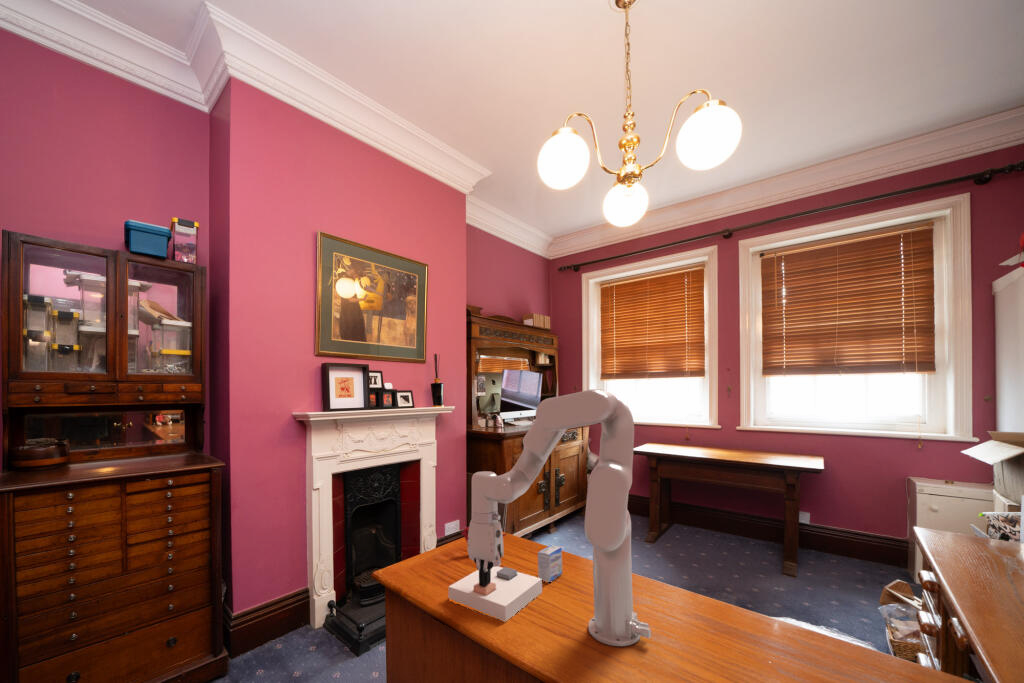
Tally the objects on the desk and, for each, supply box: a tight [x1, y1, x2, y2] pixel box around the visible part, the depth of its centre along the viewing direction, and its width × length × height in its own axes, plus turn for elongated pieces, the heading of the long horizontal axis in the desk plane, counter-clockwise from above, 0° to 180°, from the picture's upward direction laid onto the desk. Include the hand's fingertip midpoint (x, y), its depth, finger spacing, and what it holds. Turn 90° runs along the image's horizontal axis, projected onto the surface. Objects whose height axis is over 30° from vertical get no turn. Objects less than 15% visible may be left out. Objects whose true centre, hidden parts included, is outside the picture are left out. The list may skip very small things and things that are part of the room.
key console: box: [448, 565, 543, 623], centre depth 121 cm, size 20×19×4 cm
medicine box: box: [537, 544, 563, 583], centre depth 134 cm, size 8×4×9 cm, turn 143°
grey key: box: [497, 566, 518, 581], centre depth 126 cm, size 4×4×3 cm
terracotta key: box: [474, 582, 496, 596], centre depth 117 cm, size 4×4×3 cm
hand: (484, 584), depth 117 cm, fingers closed
